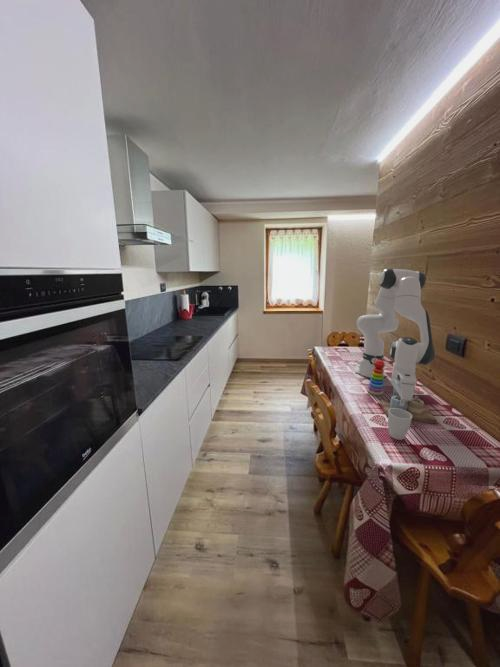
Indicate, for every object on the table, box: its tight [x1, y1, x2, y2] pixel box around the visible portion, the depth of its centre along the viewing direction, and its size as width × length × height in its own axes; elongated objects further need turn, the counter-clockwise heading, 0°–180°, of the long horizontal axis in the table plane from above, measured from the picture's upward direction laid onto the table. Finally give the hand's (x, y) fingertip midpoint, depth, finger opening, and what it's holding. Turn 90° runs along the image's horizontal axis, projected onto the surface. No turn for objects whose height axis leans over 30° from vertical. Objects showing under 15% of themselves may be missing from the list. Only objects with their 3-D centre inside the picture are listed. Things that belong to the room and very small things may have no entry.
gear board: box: [379, 394, 438, 425], centre depth 124 cm, size 14×20×8 cm
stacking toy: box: [366, 360, 386, 396], centre depth 143 cm, size 8×8×19 cm
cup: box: [387, 408, 413, 441], centre depth 105 cm, size 8×8×10 cm
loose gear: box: [390, 395, 408, 410], centre depth 125 cm, size 6×6×5 cm
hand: (398, 400), depth 124 cm, fingers open, 8 cm apart
